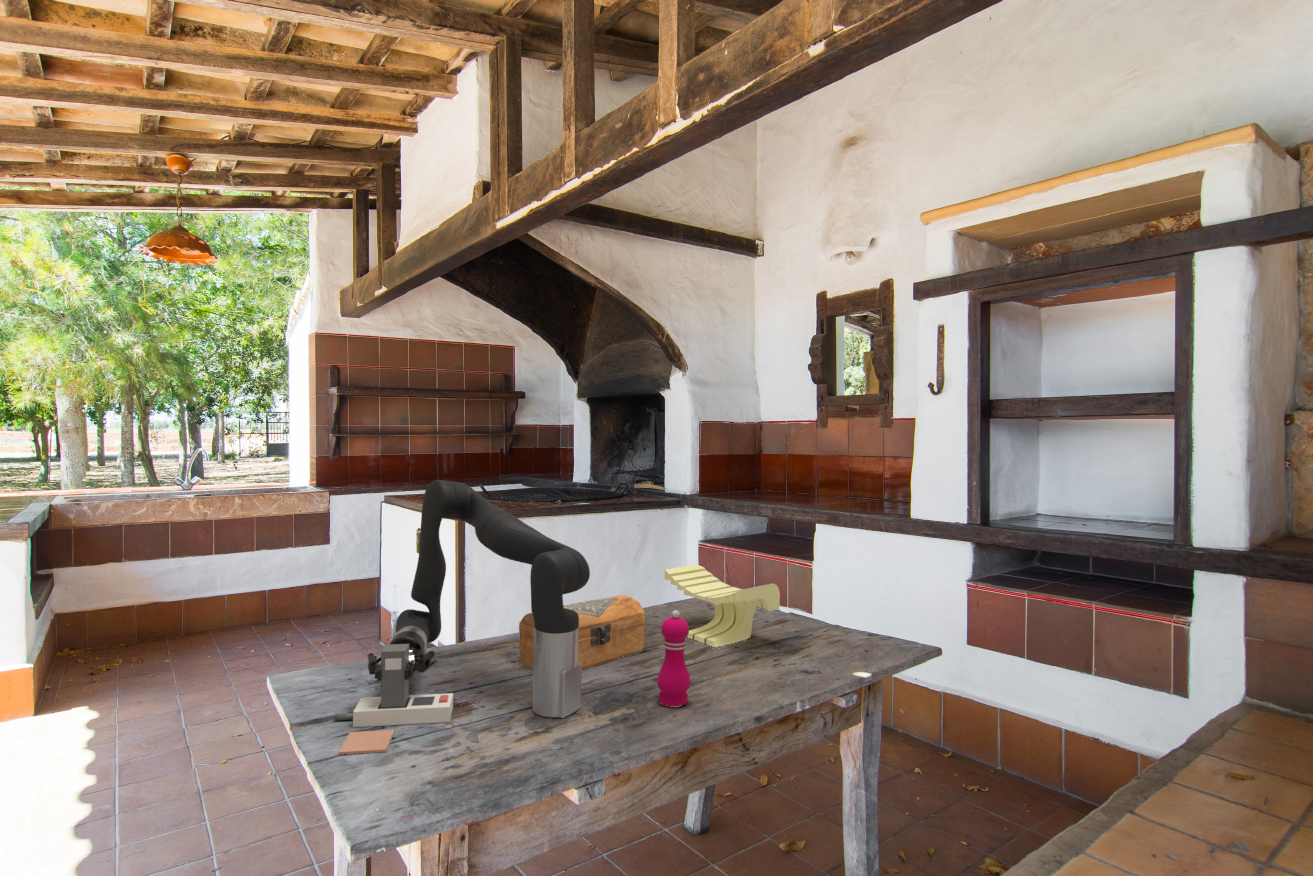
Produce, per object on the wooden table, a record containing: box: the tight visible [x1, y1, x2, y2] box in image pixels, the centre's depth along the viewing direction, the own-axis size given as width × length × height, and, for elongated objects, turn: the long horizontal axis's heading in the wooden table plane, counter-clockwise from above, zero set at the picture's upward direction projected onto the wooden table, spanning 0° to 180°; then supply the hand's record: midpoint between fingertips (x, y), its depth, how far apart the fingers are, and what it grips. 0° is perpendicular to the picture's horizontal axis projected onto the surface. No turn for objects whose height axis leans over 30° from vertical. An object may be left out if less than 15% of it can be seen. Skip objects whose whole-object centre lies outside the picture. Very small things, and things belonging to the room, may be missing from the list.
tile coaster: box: [338, 729, 395, 756], centre depth 127 cm, size 8×8×1 cm
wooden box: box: [518, 595, 647, 671], centre depth 176 cm, size 30×16×14 cm, turn 133°
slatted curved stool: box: [664, 564, 781, 647], centre depth 195 cm, size 30×16×18 cm, turn 41°
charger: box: [380, 643, 410, 709], centre depth 137 cm, size 4×5×12 cm
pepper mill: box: [656, 609, 691, 706], centre depth 149 cm, size 7×7×20 cm
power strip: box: [334, 692, 454, 728], centre depth 138 cm, size 22×7×4 cm, turn 101°
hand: (392, 675), depth 135 cm, fingers closed on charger, 4 cm apart
